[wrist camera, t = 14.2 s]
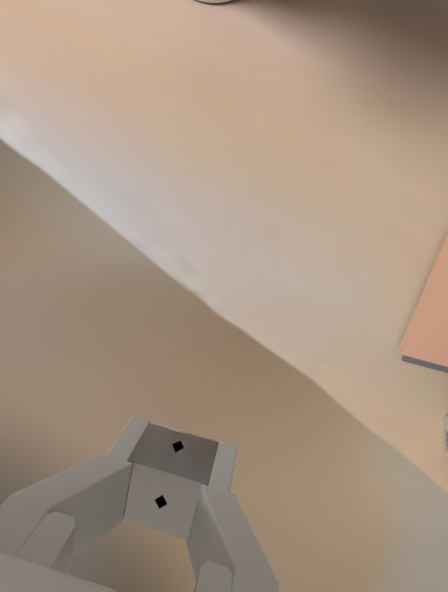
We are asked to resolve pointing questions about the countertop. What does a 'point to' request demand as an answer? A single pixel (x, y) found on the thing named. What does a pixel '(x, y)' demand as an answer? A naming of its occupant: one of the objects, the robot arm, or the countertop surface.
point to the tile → (431, 317)
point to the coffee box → (446, 435)
